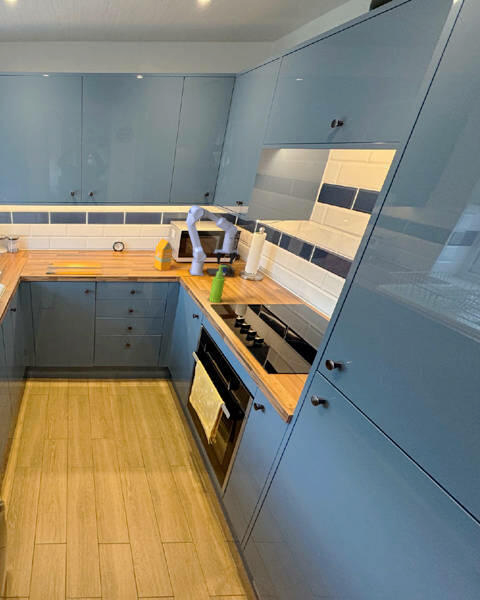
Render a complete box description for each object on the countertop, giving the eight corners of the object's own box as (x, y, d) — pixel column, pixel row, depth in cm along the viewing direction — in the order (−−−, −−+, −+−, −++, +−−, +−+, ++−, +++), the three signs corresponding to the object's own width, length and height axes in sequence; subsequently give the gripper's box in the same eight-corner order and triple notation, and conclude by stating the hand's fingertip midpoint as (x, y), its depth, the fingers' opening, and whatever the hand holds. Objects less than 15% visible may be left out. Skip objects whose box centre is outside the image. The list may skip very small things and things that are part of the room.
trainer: (220, 269, 218) (221, 263, 217) (227, 270, 216) (229, 264, 214) (216, 274, 210) (218, 268, 208) (224, 275, 208) (225, 269, 206)
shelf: (206, 270, 221) (207, 263, 219) (229, 271, 219) (230, 264, 217) (209, 275, 211) (210, 269, 209) (233, 277, 209) (235, 270, 207)
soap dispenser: (224, 301, 177) (231, 266, 168) (213, 303, 175) (220, 268, 166) (217, 297, 182) (224, 263, 173) (206, 298, 180) (213, 264, 172)
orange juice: (163, 265, 230) (166, 237, 221) (170, 269, 222) (173, 241, 214) (153, 266, 228) (156, 238, 219) (160, 270, 220) (163, 242, 212)
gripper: (218, 245, 203) (214, 265, 209) (242, 245, 202) (237, 266, 208) (215, 242, 209) (211, 262, 215) (238, 242, 208) (234, 262, 214)
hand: (224, 263), depth 212 cm, fingers open, 7 cm apart
